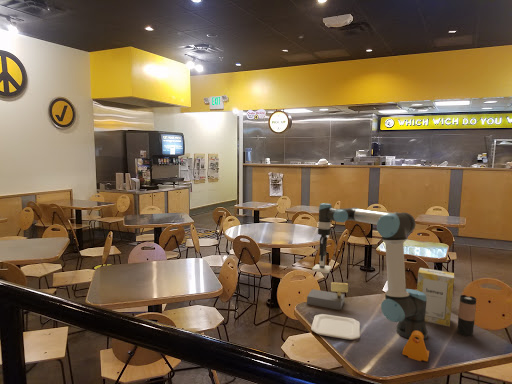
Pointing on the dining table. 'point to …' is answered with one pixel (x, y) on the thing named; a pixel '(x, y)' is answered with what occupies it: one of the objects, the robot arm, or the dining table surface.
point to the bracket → (416, 347)
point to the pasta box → (437, 294)
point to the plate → (336, 326)
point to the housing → (325, 299)
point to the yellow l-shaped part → (339, 288)
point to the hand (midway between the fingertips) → (322, 264)
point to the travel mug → (466, 315)
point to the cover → (322, 267)
